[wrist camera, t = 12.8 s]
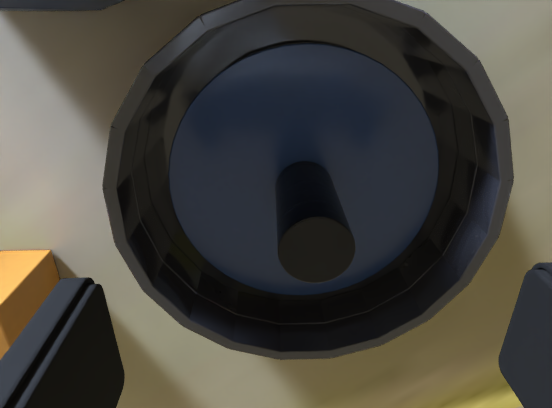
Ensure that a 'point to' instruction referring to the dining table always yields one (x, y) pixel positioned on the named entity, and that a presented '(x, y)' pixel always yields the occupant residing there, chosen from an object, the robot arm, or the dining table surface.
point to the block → (23, 290)
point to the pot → (55, 5)
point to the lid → (303, 169)
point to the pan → (356, 298)
